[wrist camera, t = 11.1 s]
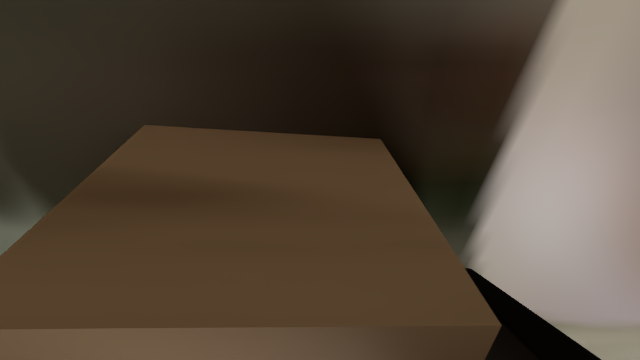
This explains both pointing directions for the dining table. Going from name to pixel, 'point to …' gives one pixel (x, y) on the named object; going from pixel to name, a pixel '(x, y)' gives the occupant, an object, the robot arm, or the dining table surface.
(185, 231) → the block
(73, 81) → the dining table surface
